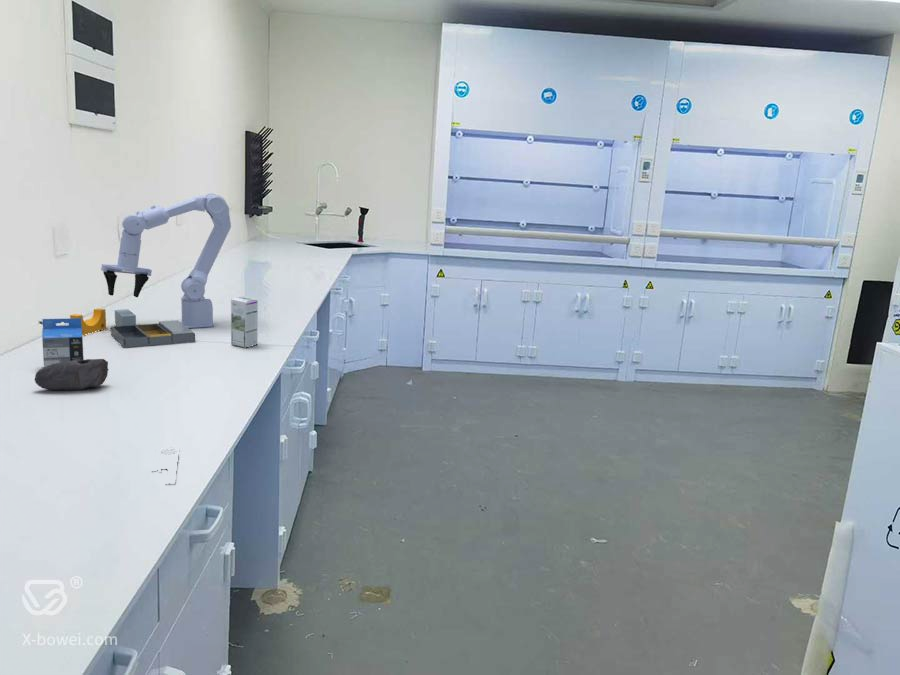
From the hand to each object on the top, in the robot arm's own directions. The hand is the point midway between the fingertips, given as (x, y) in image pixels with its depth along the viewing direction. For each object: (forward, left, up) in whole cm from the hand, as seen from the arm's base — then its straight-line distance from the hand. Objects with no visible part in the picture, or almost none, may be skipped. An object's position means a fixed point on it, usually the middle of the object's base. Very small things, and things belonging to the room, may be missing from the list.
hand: (123, 295), depth 213 cm
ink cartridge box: (+23, +39, -11) cm, 46 cm away
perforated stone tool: (+24, +58, -11) cm, 63 cm away
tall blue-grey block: (0, 0, -11) cm, 11 cm away
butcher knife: (+17, +109, -11) cm, 111 cm away
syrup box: (-26, +34, -11) cm, 44 cm away
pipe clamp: (+11, +2, -11) cm, 16 cm away
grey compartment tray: (-4, +17, -10) cm, 20 cm away
